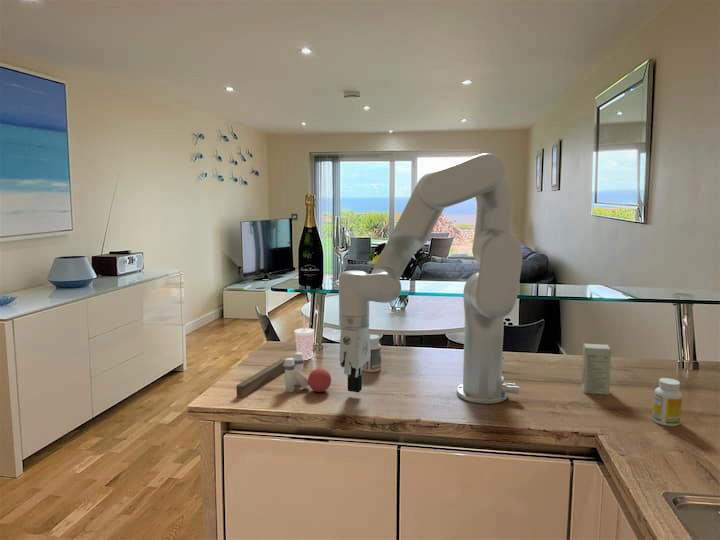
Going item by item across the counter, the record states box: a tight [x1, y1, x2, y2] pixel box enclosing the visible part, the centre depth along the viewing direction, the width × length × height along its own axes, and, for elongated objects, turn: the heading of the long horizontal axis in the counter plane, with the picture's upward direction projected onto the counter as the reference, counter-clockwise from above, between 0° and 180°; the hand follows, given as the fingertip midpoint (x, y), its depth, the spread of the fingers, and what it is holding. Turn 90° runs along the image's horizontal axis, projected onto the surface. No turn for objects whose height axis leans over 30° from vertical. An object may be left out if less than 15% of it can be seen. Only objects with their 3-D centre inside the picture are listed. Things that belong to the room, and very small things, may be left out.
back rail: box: [235, 359, 285, 398], centre depth 141 cm, size 2×22×3 cm, turn 159°
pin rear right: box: [293, 351, 304, 387], centre depth 139 cm, size 2×2×8 cm
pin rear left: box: [284, 357, 296, 393], centre depth 135 cm, size 2×2×8 cm
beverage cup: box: [293, 314, 315, 361], centre depth 161 cm, size 6×6×14 cm
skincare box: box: [581, 343, 612, 395], centre depth 133 cm, size 6×4×12 cm
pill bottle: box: [362, 334, 382, 373], centre depth 151 cm, size 6×6×10 cm
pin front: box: [283, 363, 309, 390], centre depth 137 cm, size 2×2×8 cm
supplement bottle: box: [651, 377, 683, 427], centre depth 116 cm, size 5×5×10 cm
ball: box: [307, 368, 332, 393], centre depth 134 cm, size 6×6×6 cm
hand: (354, 390), depth 131 cm, fingers closed
